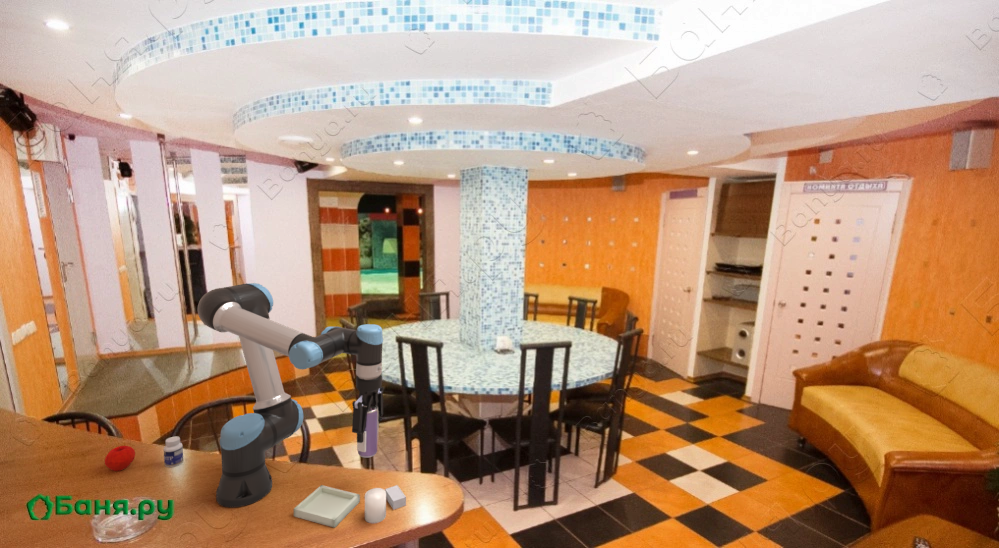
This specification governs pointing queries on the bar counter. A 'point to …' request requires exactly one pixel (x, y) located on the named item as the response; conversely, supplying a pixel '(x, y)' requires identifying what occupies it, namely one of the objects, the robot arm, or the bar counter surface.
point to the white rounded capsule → (375, 505)
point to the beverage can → (371, 433)
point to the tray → (327, 506)
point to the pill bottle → (173, 452)
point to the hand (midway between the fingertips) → (367, 445)
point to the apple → (120, 458)
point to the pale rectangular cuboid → (395, 497)
